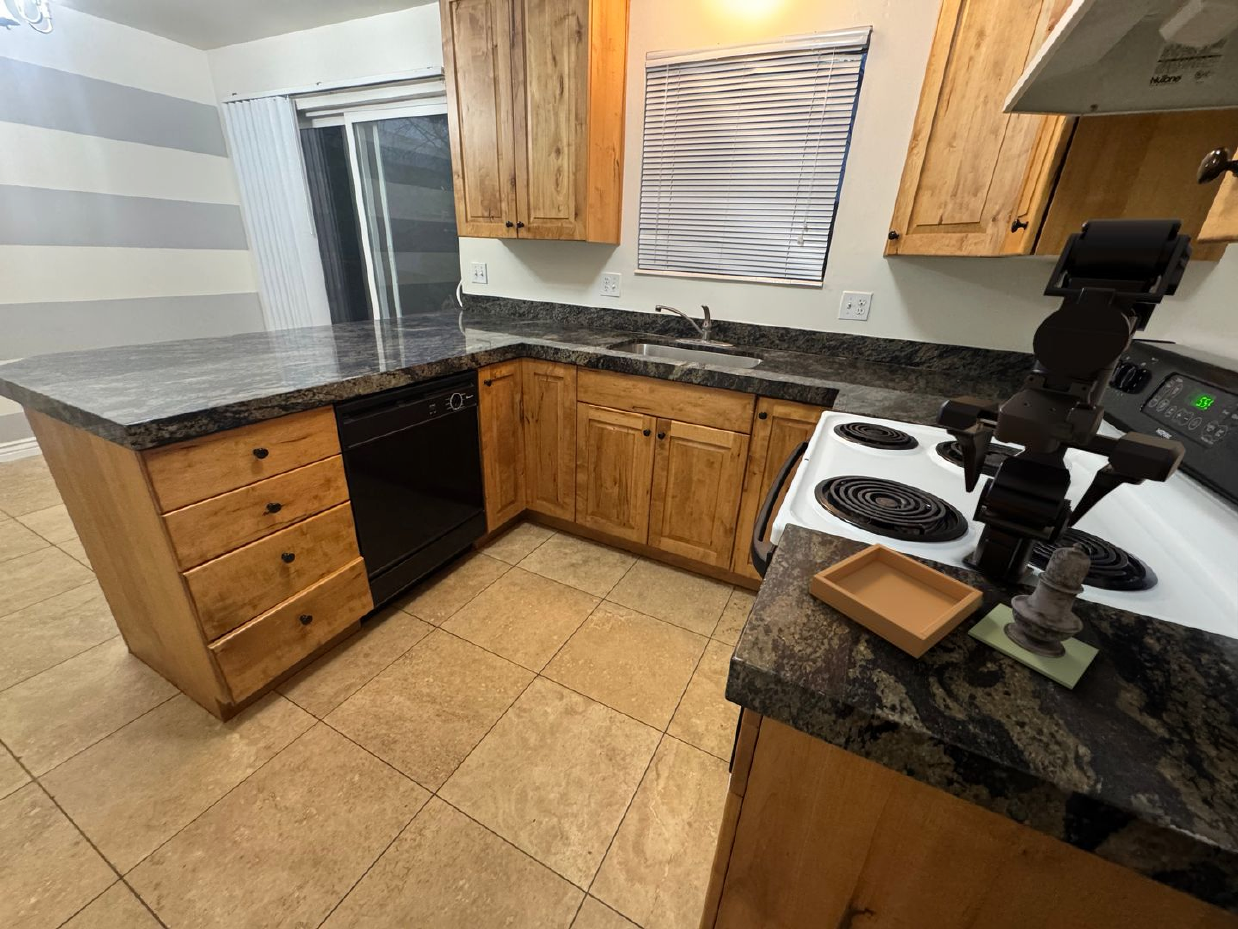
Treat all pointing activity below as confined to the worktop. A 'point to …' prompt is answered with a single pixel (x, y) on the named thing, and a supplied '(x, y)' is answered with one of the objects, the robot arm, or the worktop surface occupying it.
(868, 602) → the tray
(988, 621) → the mat
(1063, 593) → the stone finial
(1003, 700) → the worktop surface
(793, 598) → the worktop surface
